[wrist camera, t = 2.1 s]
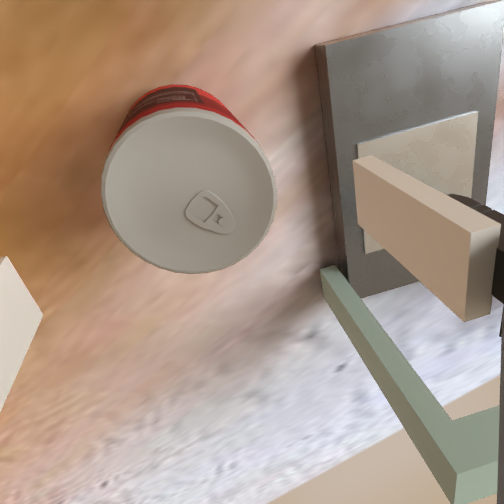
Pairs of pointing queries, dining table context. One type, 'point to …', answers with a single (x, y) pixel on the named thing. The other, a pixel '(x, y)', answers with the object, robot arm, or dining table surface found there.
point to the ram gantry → (420, 403)
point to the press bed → (409, 119)
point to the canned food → (187, 183)
